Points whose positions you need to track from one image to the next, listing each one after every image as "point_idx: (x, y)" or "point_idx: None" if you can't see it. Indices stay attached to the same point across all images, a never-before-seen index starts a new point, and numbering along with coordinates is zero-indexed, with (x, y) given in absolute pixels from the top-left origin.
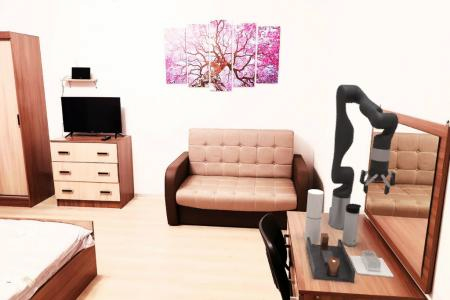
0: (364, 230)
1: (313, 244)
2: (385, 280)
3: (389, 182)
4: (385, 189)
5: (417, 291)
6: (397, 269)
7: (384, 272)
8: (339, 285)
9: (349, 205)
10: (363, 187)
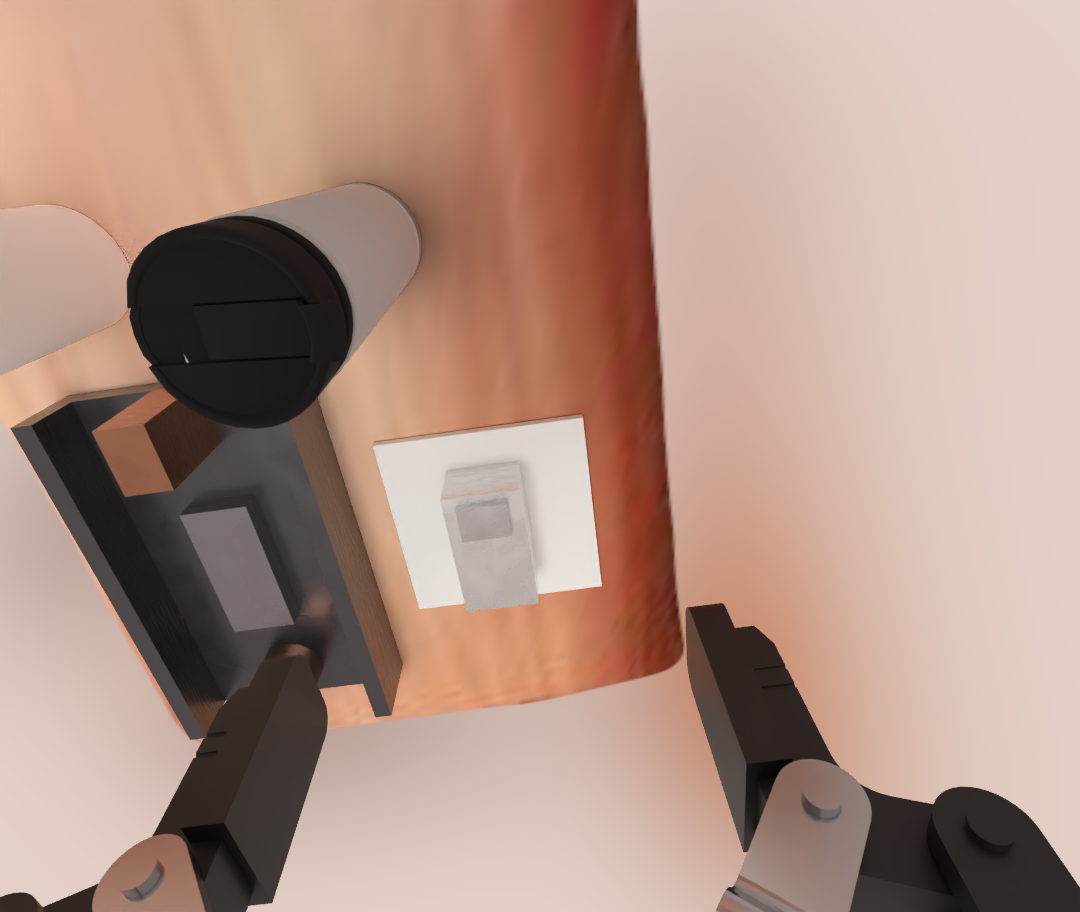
0: None
1: (105, 401)
2: (553, 611)
3: (911, 889)
4: (716, 728)
5: (678, 647)
6: (646, 501)
7: (561, 567)
8: (339, 696)
9: (172, 296)
10: (189, 773)
